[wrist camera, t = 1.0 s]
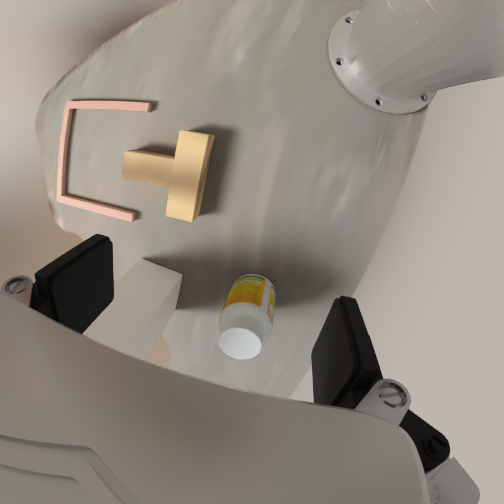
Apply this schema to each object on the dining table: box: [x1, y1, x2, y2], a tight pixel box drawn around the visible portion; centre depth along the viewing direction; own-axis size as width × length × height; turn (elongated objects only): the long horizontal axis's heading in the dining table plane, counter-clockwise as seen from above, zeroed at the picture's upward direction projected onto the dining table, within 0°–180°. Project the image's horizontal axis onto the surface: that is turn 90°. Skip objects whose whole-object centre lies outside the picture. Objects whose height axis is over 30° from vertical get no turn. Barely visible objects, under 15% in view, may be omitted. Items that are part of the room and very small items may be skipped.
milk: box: [83, 258, 183, 360], centre depth 24 cm, size 6×6×22 cm
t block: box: [122, 130, 215, 222], centre depth 27 cm, size 9×9×2 cm
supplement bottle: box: [219, 274, 276, 360], centre depth 29 cm, size 5×5×10 cm
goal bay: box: [57, 101, 152, 222], centre depth 28 cm, size 14×14×1 cm
